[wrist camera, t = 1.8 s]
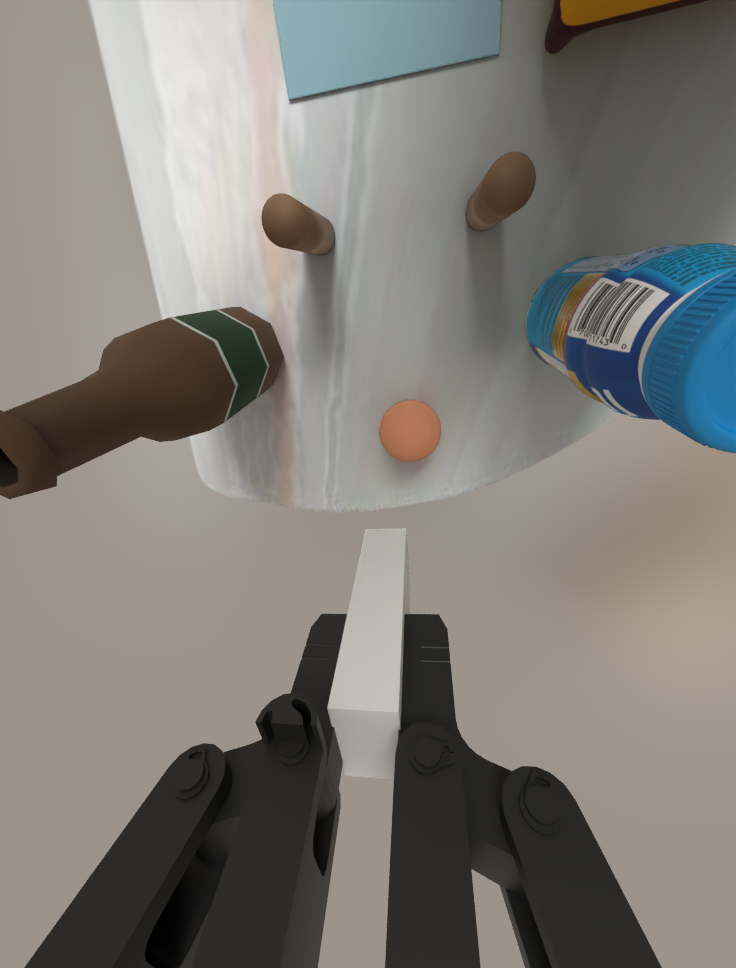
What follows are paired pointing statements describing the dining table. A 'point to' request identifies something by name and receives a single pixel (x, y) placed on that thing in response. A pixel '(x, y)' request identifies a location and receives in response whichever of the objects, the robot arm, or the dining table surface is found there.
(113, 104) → the dining table surface
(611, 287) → the beverage bottle
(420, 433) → the ball
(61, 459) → the beer bottle
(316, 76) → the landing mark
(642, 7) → the decorative lantern
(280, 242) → the post
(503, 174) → the post
